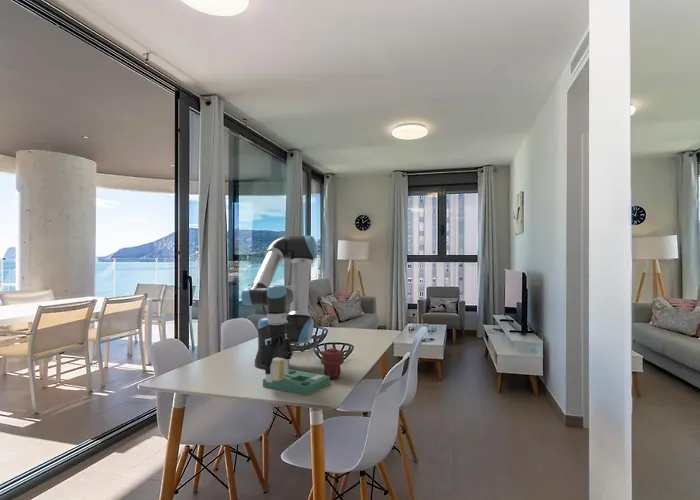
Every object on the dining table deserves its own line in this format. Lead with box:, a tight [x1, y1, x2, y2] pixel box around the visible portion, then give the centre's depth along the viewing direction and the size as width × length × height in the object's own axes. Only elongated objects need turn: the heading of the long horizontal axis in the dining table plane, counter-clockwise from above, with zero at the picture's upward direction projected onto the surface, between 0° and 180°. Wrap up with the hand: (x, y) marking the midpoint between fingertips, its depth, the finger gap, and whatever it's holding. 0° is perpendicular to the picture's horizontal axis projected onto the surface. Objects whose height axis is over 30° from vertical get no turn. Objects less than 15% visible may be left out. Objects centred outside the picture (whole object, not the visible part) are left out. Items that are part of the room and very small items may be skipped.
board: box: [262, 368, 331, 396], centre depth 163 cm, size 22×16×4 cm
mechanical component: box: [320, 347, 345, 380], centre depth 172 cm, size 12×10×10 cm
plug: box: [271, 357, 285, 381], centre depth 162 cm, size 5×4×8 cm
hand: (277, 378), depth 162 cm, fingers open, 9 cm apart
